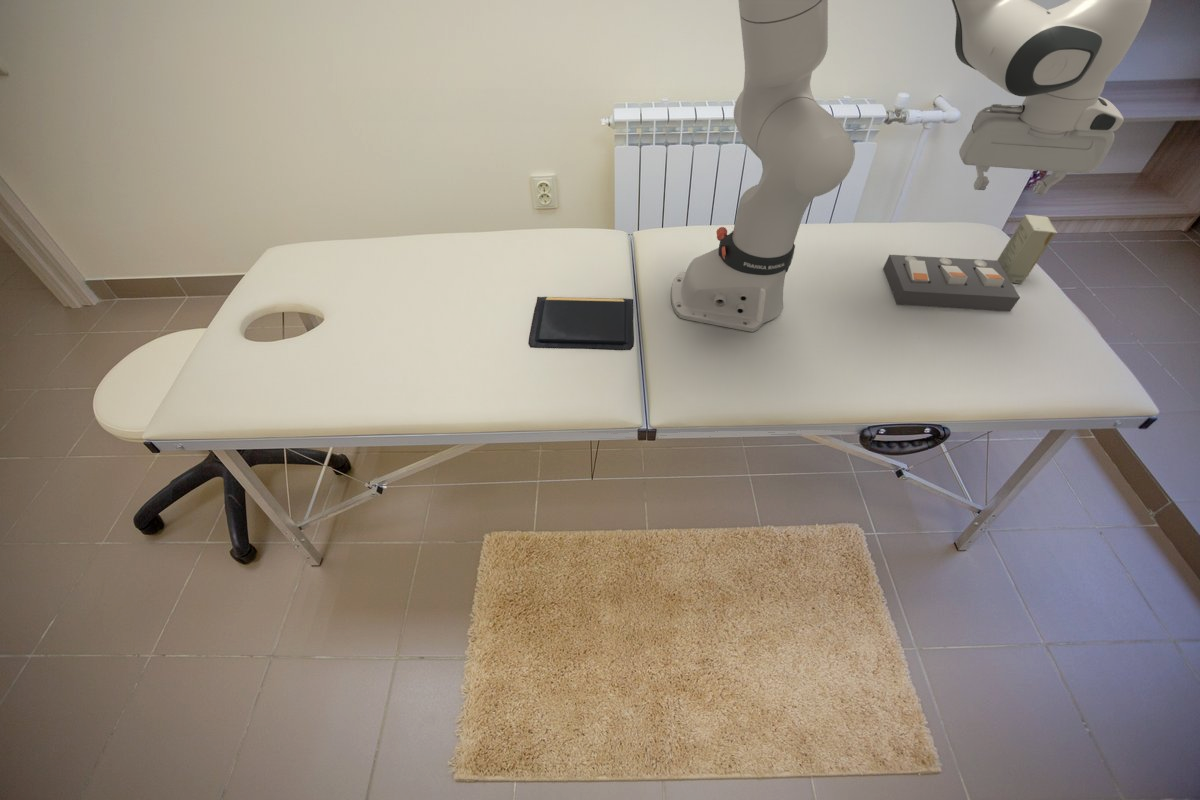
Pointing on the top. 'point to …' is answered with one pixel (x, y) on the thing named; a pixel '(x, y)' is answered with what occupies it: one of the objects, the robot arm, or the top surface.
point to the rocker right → (989, 277)
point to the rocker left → (917, 271)
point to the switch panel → (945, 294)
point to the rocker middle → (953, 275)
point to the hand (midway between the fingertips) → (1008, 190)
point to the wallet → (582, 323)
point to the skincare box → (1026, 247)
